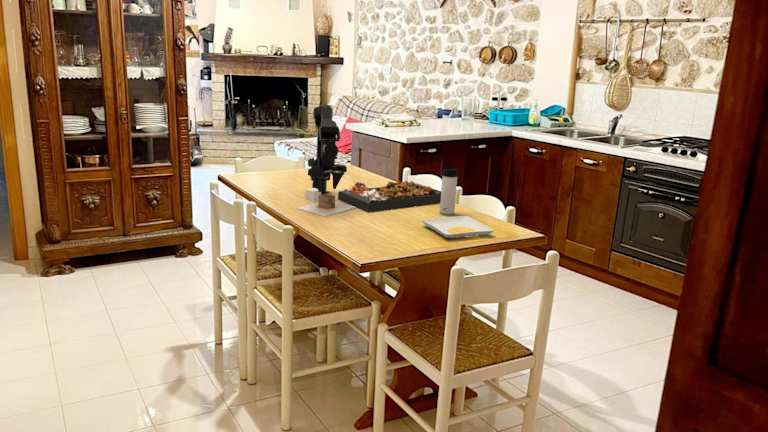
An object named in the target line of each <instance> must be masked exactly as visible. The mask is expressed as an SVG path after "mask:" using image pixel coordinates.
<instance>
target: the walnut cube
mask: <svg viewBox="0 0 768 432" xmlns="http://www.w3.org/2000/svg"><path fill="white" fill-rule="evenodd" d="M335 202H336V195H333V194H330V193H325V194H321V195H319V200H318V201H317V203H318V207H320V208H324V209H330V208H334V207H335Z"/></svg>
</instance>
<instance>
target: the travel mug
mask: <svg viewBox="0 0 768 432" xmlns="http://www.w3.org/2000/svg"><path fill="white" fill-rule="evenodd" d="M458 171H459V170H458V169H457V168H447V169H445V168H444V169H442V179H441V190H440V191H441V201H440V204H439V205H440V206H439V214H440V215H441V214H442V215H441V216H444V215H453V216H454V215H455V207H456V198H457V197H456V196H457V184H458Z"/></svg>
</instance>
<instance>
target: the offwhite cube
mask: <svg viewBox="0 0 768 432" xmlns="http://www.w3.org/2000/svg"><path fill="white" fill-rule="evenodd" d="M321 192H322V191H321ZM321 192H319V191H318V189H316V188H312V187H310V188H306V189H305V201H308V202H311V203H318V200H319V195H322V194H321Z"/></svg>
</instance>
